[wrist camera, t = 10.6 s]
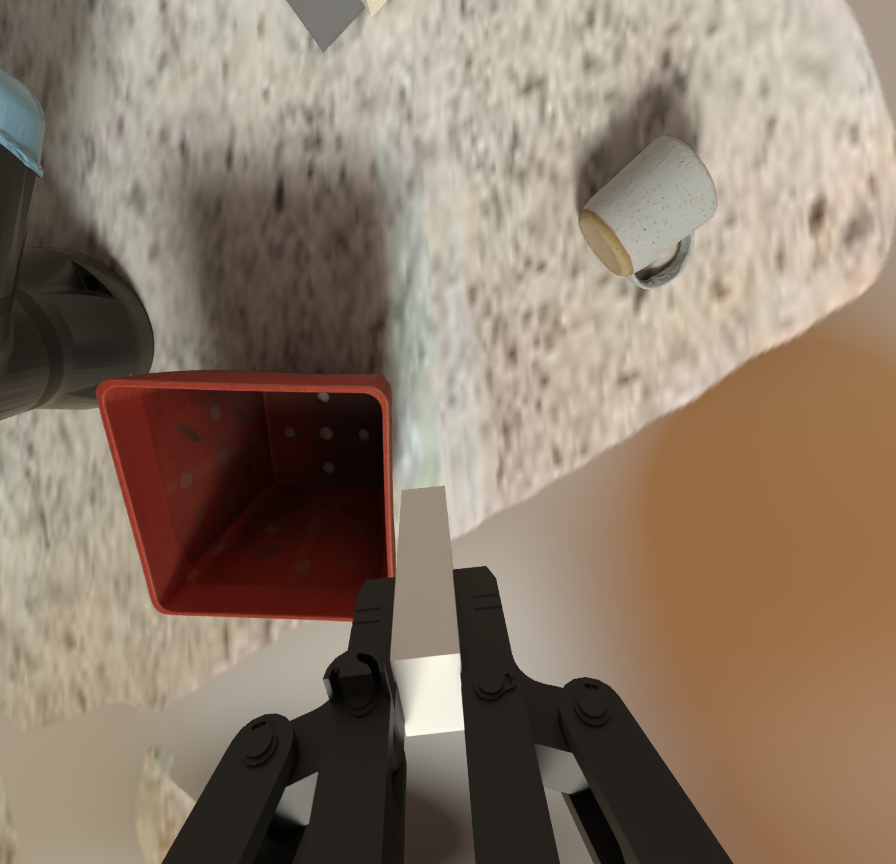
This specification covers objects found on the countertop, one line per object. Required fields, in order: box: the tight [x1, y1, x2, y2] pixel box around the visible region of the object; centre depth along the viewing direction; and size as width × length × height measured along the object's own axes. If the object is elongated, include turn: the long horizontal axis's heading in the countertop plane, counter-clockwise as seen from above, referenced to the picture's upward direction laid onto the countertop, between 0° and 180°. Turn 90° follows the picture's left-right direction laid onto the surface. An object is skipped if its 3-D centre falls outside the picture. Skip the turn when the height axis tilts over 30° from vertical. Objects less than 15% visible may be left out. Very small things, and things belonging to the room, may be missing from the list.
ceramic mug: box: [579, 136, 717, 289], centre depth 36 cm, size 11×8×8 cm
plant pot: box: [96, 370, 396, 622], centre depth 39 cm, size 19×19×17 cm
